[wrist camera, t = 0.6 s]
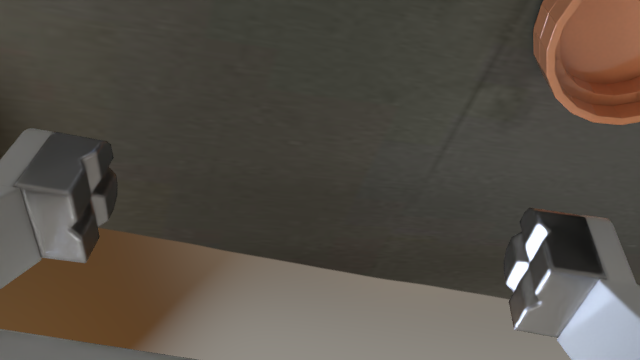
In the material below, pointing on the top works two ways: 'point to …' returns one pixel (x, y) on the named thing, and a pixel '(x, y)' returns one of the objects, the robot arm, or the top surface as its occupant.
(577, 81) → the pot
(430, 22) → the top surface
